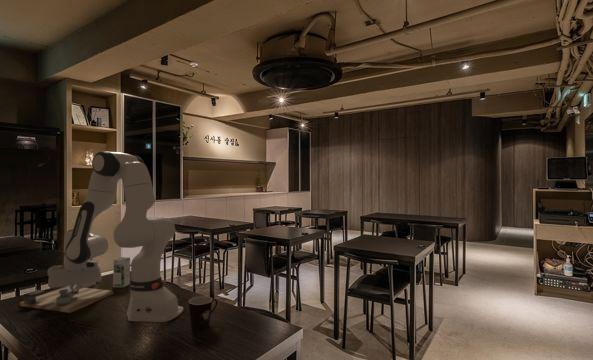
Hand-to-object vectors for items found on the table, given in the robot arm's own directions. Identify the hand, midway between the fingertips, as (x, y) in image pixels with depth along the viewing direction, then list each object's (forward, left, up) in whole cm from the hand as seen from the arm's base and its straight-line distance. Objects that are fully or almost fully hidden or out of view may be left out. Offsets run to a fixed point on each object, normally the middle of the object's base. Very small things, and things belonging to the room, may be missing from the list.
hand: (75, 294), depth 152 cm
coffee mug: (-69, +8, -3) cm, 70 cm away
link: (+2, +2, -1) cm, 3 cm away
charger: (+13, -18, -3) cm, 23 cm away
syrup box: (-5, -22, -3) cm, 23 cm away
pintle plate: (+3, +1, -3) cm, 4 cm away
